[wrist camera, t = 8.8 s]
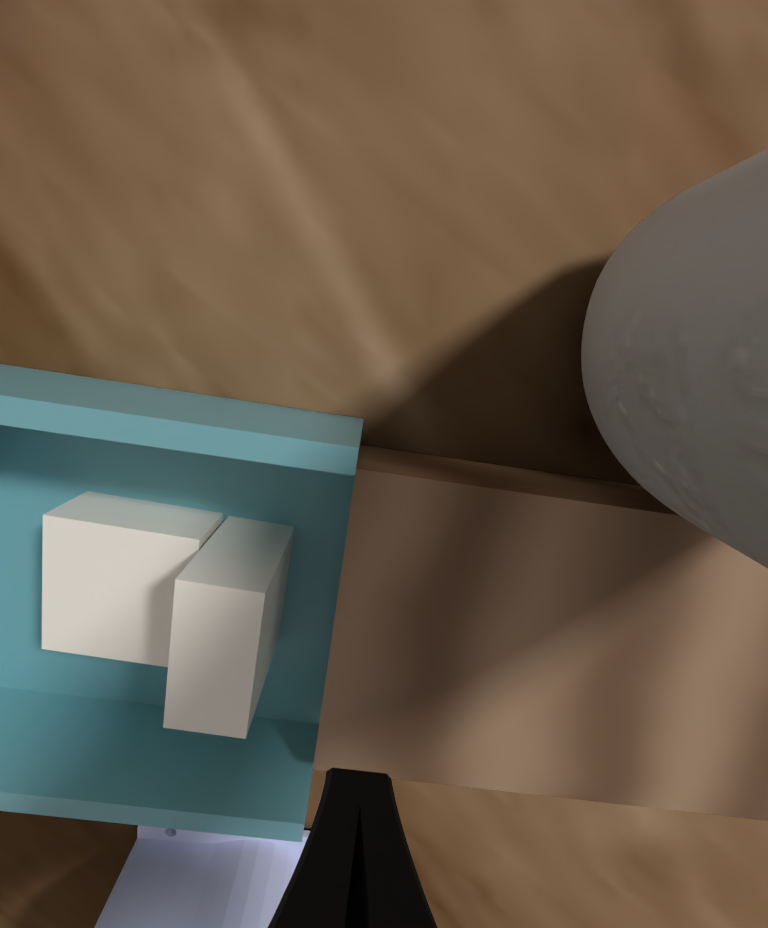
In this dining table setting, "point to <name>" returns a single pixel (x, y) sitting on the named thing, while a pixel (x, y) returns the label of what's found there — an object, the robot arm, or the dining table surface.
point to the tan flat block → (544, 641)
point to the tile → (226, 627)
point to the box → (144, 686)
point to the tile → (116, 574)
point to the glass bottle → (690, 355)
